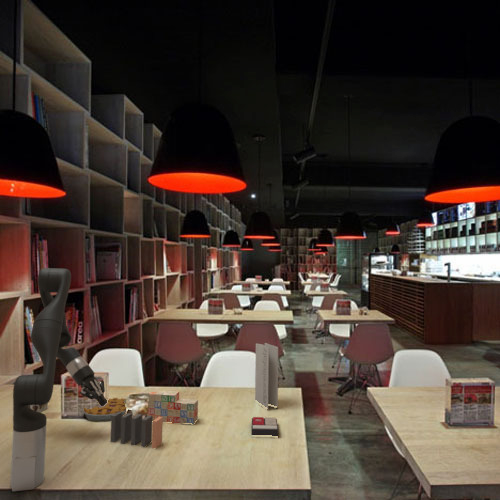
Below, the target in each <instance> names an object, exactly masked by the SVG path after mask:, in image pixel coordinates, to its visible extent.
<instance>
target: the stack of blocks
mask: <svg viewBox="0 0 500 500" xmlns="http://www.w3.org/2000/svg"><path fill="white" fill-rule="evenodd" d="M147 403H148V408H147V409H148V415H150V416H152V421H153V420H155V419H156V418H158V417H163V422H172V423H171V424H174V423H192V424H194V423H195V421H196V420H197V419H199V418H198V414H199V410H198V409H199V407H198V406H199V399H193V398H181V397H180V391H177V390H176V391H174V390H158V389H157V390H156V389H154V390H152V391H150V392H149V393H148V402H147ZM148 415H147V416H148ZM197 421H198V420H197ZM195 424H196V423H195ZM195 424H194V425H195Z"/></svg>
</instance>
